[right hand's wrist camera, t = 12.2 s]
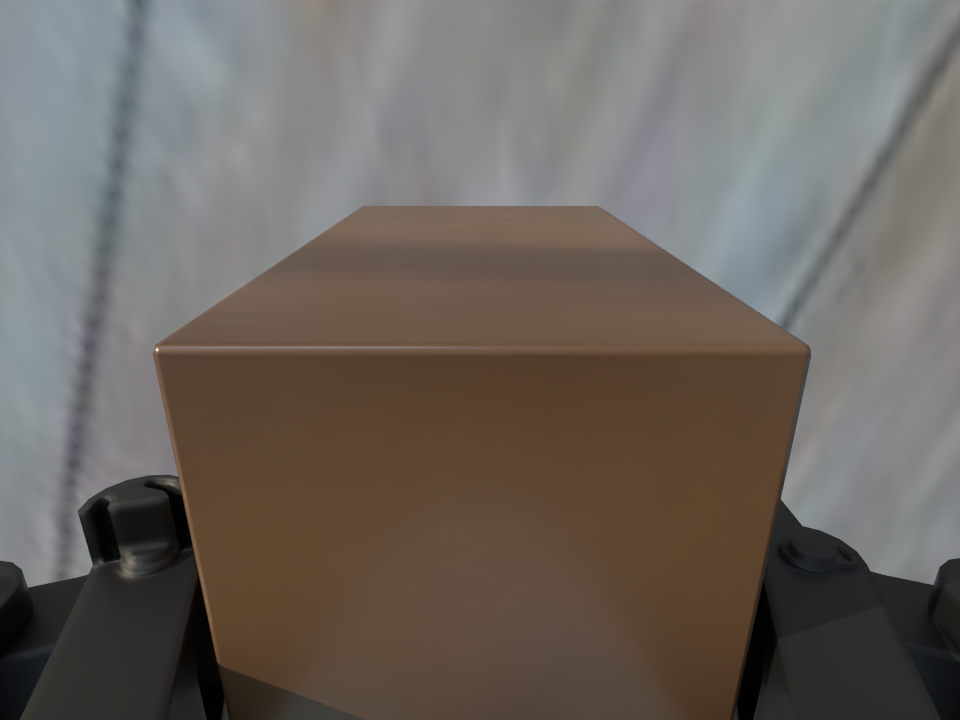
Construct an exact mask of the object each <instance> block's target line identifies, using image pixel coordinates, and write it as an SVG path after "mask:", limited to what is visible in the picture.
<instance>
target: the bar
mask: <svg viewBox="0 0 960 720" xmlns="http://www.w3.org/2000/svg"><path fill="white" fill-rule="evenodd" d="M153 356H154V361H155V366H156V371H157V376H158V380H159V385H160V390H161V395H162V400H163V404H164V409H165V414H166V419H167V424H168V428H169V433H170V438H171V443H172V448H173V452H174V457H175V462H176V467H177V472H178V476H179V481H180V486H181V491H182V496H183V500H184V505H185V510H186V515H187V520H188V524H189V529H190V534H191V539H192V544H193V548H194V553H195V558H196V563H197V568H198V572H199V577H200V582H201V587H202V592H203V596H204V601H205V606H206V611H207V616H208V620H209V625H210V630H211V635H212V640H213V644H214V649H215V654H216V659H217V664H218V668H219V673H220V678H221V683H222V688H223V692H224V697H225V702H226V707H227V712H228V716H229V720H734V715H735V710H736V706H737V701H738V696H739V691H740V687H741V682H742V677H743V673H744V668H745V663H746V659H747V654H748V649H749V645H750V640H751V635H752V630H753V626H754V621H755V616H756V612H757V607H758V602H759V598H760V593H761V588H762V584H763V579H764V574H765V569H766V565H767V560H768V555H769V551H770V546H771V541H772V537H773V532H774V527H775V523H776V518H777V513H778V508H779V504H780V499H781V494H782V490H783V485H784V480H785V476H786V471H787V466H788V462H789V457H790V452H791V447H792V443H793V438H794V433H795V429H796V424H797V419H798V415H799V410H800V405H801V401H802V396H803V391H804V386H805V382H806V377H807V372H808V368H809V363H810V358H811V351H810V348H809V346H808V345H807V344H805V343H804V342H802V341H801V340H799V339H798V338H796V337H795V336H793V335H792V334H790V333H789V332H787V331H786V330H784V329H783V328H781V327H780V326H778V325H777V324H775V323H774V322H772V321H771V320H769V319H768V318H766V317H765V316H763V315H762V314H760V313H759V312H757V311H756V310H754V309H753V308H751V307H750V306H748V305H747V304H745V303H744V302H742V301H741V300H739V299H738V298H736V297H735V296H733V295H732V294H730V293H729V292H727V291H726V290H724V289H723V288H721V287H720V286H718V285H717V284H715V283H714V282H712V281H711V280H709V279H708V278H706V277H704V276H703V275H701V274H700V273H698V272H697V271H695V270H694V269H692V268H691V267H689V266H688V265H686V264H685V263H683V262H682V261H680V260H679V259H677V258H676V257H674V256H673V255H671V254H670V253H668V252H667V251H665V250H664V249H662V248H661V247H659V246H658V245H656V244H655V243H653V242H652V241H650V240H649V239H647V238H646V237H644V236H643V235H641V234H640V233H638V232H637V231H635V230H634V229H632V228H631V227H629V226H628V225H626V224H625V223H623V222H622V221H620V220H619V219H617V218H616V217H614V216H613V215H611V214H610V213H608V212H607V211H605V210H604V209H602V208H601V207H598V206H363V207H361V208H359V209H358V210H356V211H355V212H353V213H352V214H350V215H349V216H347V217H346V218H345V219H343V220H342V221H340V222H339V223H337V224H336V225H334V226H333V227H331V228H330V229H328V230H327V231H325V232H324V233H322V234H321V235H319V236H318V237H316V238H315V239H313V240H312V241H310V242H309V243H307V244H306V245H304V246H303V247H301V248H300V249H298V250H297V251H295V252H294V253H292V254H291V255H289V256H288V257H286V258H285V259H283V260H282V261H280V262H279V263H277V264H276V265H274V266H273V267H271V268H270V269H268V270H267V271H265V272H264V273H262V274H261V275H259V276H258V277H256V278H255V279H253V280H252V281H250V282H249V283H247V284H246V285H244V286H243V287H242V288H240V289H239V290H237V291H236V292H234V293H233V294H231V295H230V296H228V297H227V298H225V299H224V300H222V301H221V302H219V303H218V304H216V305H215V306H213V307H212V308H210V309H209V310H207V311H206V312H204V313H203V314H201V315H200V316H198V317H197V318H195V319H194V320H192V321H191V322H189V323H188V324H186V325H185V326H183V327H182V328H180V329H179V330H177V331H176V332H174V333H173V334H171V335H170V336H168V337H167V338H165V339H164V340H162V341H161V342H159V343H158V344H156V345H155V348H154V353H153Z"/></svg>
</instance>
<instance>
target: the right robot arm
mask: <svg viewBox="0 0 960 720" xmlns="http://www.w3.org/2000/svg"><path fill="white" fill-rule="evenodd" d="M78 514H79V517H80V521H81V524H82V528H83V531H84V535H85V538H86V542H87V545H88V549H89V552H90V556H91V559H92V563H93V567H92V569H91V571H90V573H89V575H85V576H81V577H78V578H73V579H68V580H63V581H58V582H53V583H49V584H44V585H39V586H34V587H29V588H28V587H27V584H26V581H25V578H24V575H23V572H22V570H21V569H20V568H19V567H18V566H16V565H15V564H14V563H12V562H5V561H0V720H229V716H228V712H227V707H226V702H225V697H224V692H223V688H222V683H221V678H220V673H219V668H218V664H217V659H216V654H215V649H214V644H213V640H212V635H211V630H210V625H209V620H208V616H207V611H206V606H205V601H204V596H203V592H202V587H201V582H200V577H199V572H198V568H197V563H196V558H195V553H194V548H193V544H192V539H191V534H190V529H189V524H188V520H187V515H186V510H185V505H184V500H183V496H182V491H181V486H180V481H179V477H176V476H172V475H151V476H145V477H140V478H135V479H131V480H127V481H124V482H121V483H119V484H116V485H114V486H111V487H109V488H106V489H105V490H103V491H101V492H100V493H98V494H96V495H95V496H93V497H92V498H90V499H88V501H87V502H86V503H85V504H84V505H83V506H82V507H81V508H80V509H79V510H78ZM734 720H960V558H959V559H951V560H948V561H947V562H946V563H944V564H943V565H942V566H940V568H939V571H938V574H937V577H936V580H935V583H934V585H930V584H925V583H920V582H915V581H910V580H906V579H901V578H896V577H891V576H886V575H882V574H878V573H874V572H871V571H870V570H869V568H868V566H867V564H866V563H865V561H864V560H863V559H862V558H861V556H860V555H859V554H858V552H857V551H855V550H854V549H853V548H851V547H850V546H848V545H847V544H846V543H844V542H843V541H841V540H840V539H838V538H836V537H833V536H831V535H829V534H827V533H824V532H822V531H820V530H816V529H812V528H808V527H804V526H802V525H801V524H800V523H799V521H798V520H797V519H796V518H795V516H794V515H793V514H792V513H791V512H790V510H789V509H788V508H787V507H786V505H785V504H784V503H783V502H782V500H781V499H780V504H779V508H778V513H777V518H776V523H775V527H774V532H773V537H772V541H771V546H770V551H769V555H768V560H767V565H766V569H765V574H764V579H763V584H762V588H761V593H760V598H759V602H758V607H757V612H756V616H755V621H754V626H753V630H752V635H751V640H750V645H749V649H748V654H747V659H746V663H745V668H744V673H743V677H742V682H741V687H740V691H739V696H738V701H737V706H736V710H735V715H734Z"/></svg>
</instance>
